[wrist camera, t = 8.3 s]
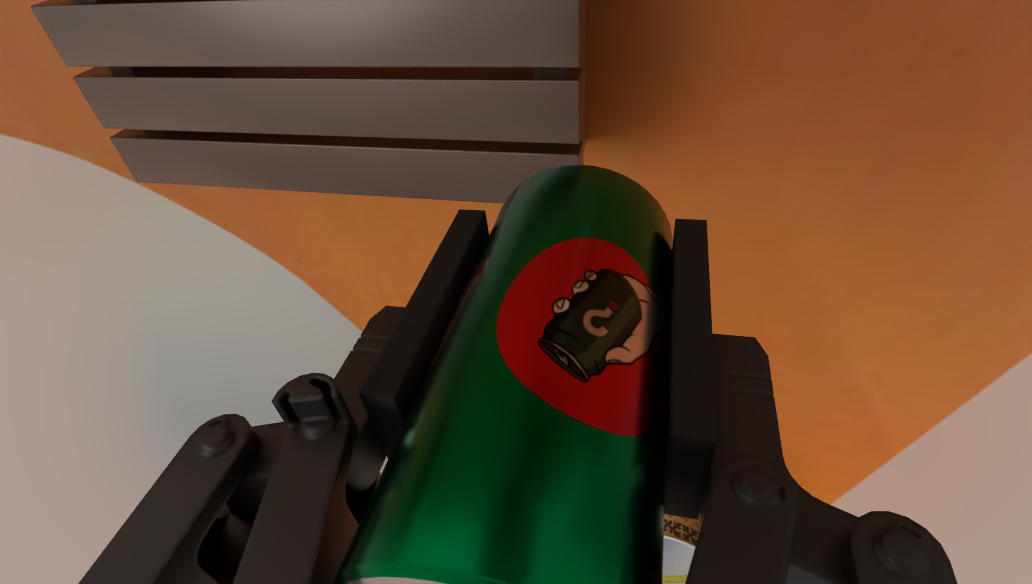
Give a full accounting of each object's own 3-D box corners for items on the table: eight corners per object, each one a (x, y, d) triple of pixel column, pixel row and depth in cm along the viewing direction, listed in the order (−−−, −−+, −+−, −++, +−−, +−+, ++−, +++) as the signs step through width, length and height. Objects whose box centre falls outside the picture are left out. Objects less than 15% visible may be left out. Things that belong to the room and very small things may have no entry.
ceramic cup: (620, 415, 50) (609, 520, 42) (729, 445, 49) (736, 557, 42) (588, 482, 58) (574, 578, 51) (680, 508, 58) (679, 610, 50)
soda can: (481, 166, 15) (221, 632, 7) (665, 141, 14) (629, 721, 5) (524, 298, 19) (384, 736, 10) (679, 292, 17) (672, 814, 8)
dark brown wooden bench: (119, -118, 29) (-107, -86, 21) (606, -161, 23) (564, -142, 15) (228, 129, 38) (102, 220, 30) (598, 141, 33) (569, 257, 24)
